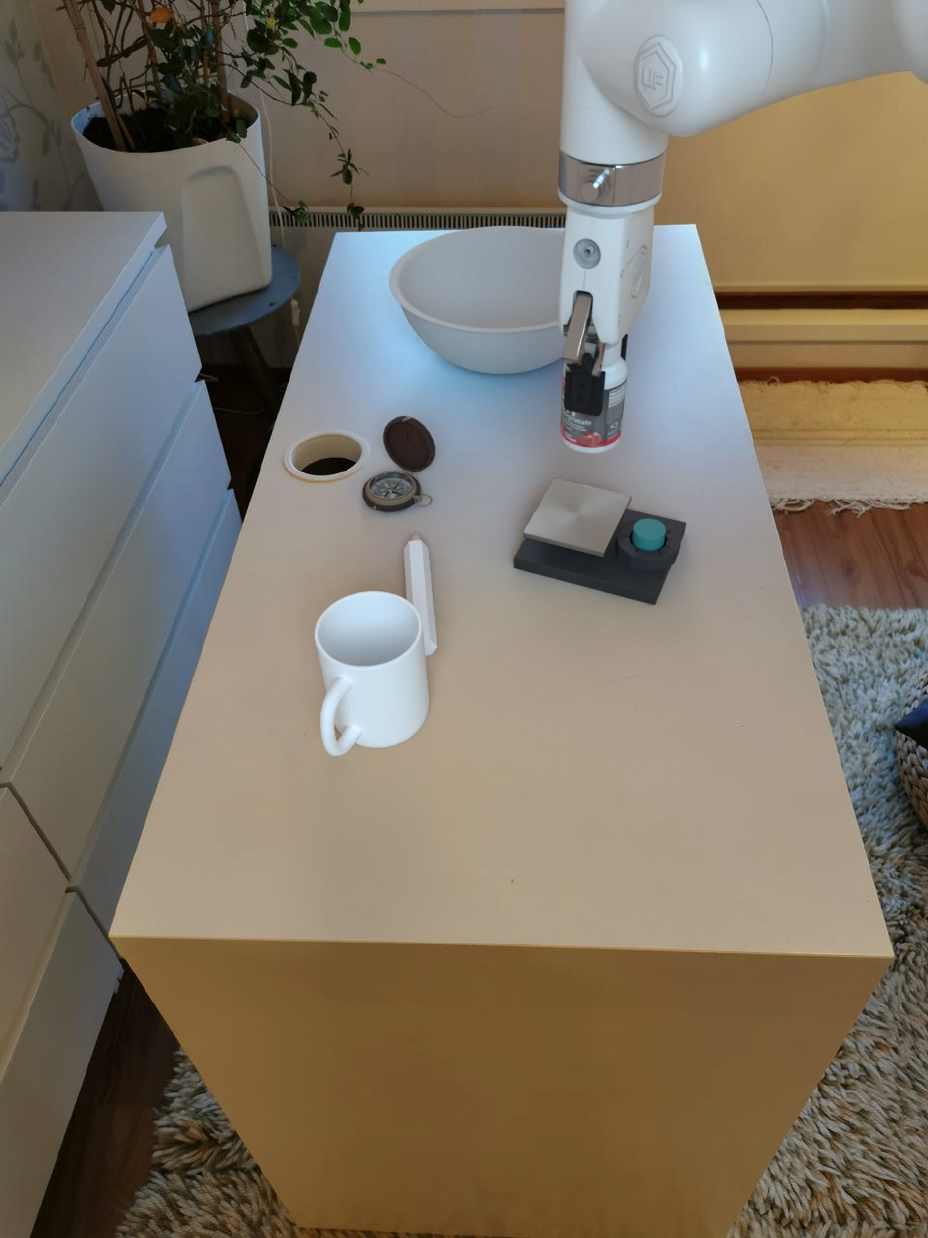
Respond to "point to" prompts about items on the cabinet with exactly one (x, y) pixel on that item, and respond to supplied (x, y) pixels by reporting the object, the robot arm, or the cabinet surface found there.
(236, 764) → the cabinet surface
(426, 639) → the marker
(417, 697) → the cup
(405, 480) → the compass
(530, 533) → the pan
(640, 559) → the scale
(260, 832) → the cabinet surface
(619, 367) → the pill bottle
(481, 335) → the bowl
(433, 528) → the cabinet surface
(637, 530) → the button
